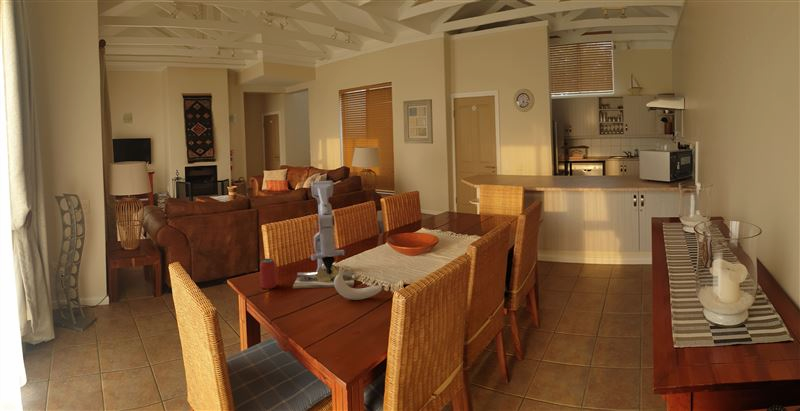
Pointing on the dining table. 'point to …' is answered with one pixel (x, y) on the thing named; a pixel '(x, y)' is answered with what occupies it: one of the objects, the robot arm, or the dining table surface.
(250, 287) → the dining table surface
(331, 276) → the valve
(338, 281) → the banana
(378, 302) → the dining table surface
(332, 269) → the lever
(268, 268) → the beer can
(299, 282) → the valve board
